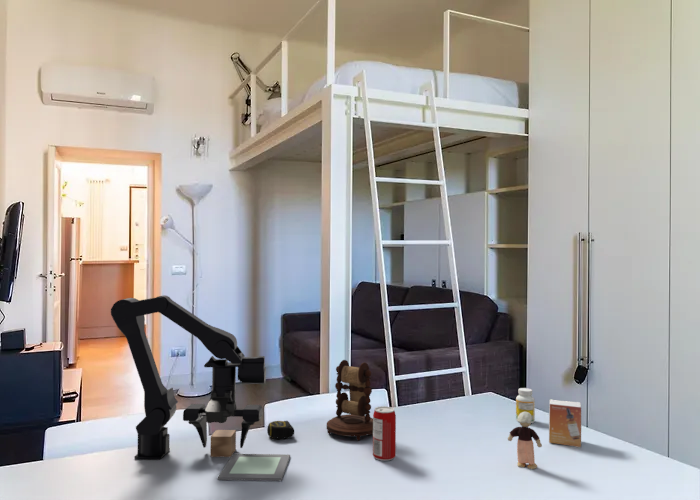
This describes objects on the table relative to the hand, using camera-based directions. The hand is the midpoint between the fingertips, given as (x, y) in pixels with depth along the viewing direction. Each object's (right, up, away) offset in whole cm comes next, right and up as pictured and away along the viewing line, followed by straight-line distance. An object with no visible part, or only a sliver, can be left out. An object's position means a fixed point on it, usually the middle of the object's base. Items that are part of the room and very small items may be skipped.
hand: (223, 447), depth 131 cm
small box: (+89, -3, +10) cm, 90 cm away
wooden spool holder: (+32, -2, +16) cm, 36 cm away
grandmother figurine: (+73, -2, -7) cm, 73 cm away
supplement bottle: (+85, -3, +28) cm, 89 cm away
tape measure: (+13, -2, +13) cm, 19 cm away
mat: (+10, -1, -9) cm, 14 cm away
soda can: (+40, -2, -2) cm, 40 cm away
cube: (0, -2, 0) cm, 2 cm away
